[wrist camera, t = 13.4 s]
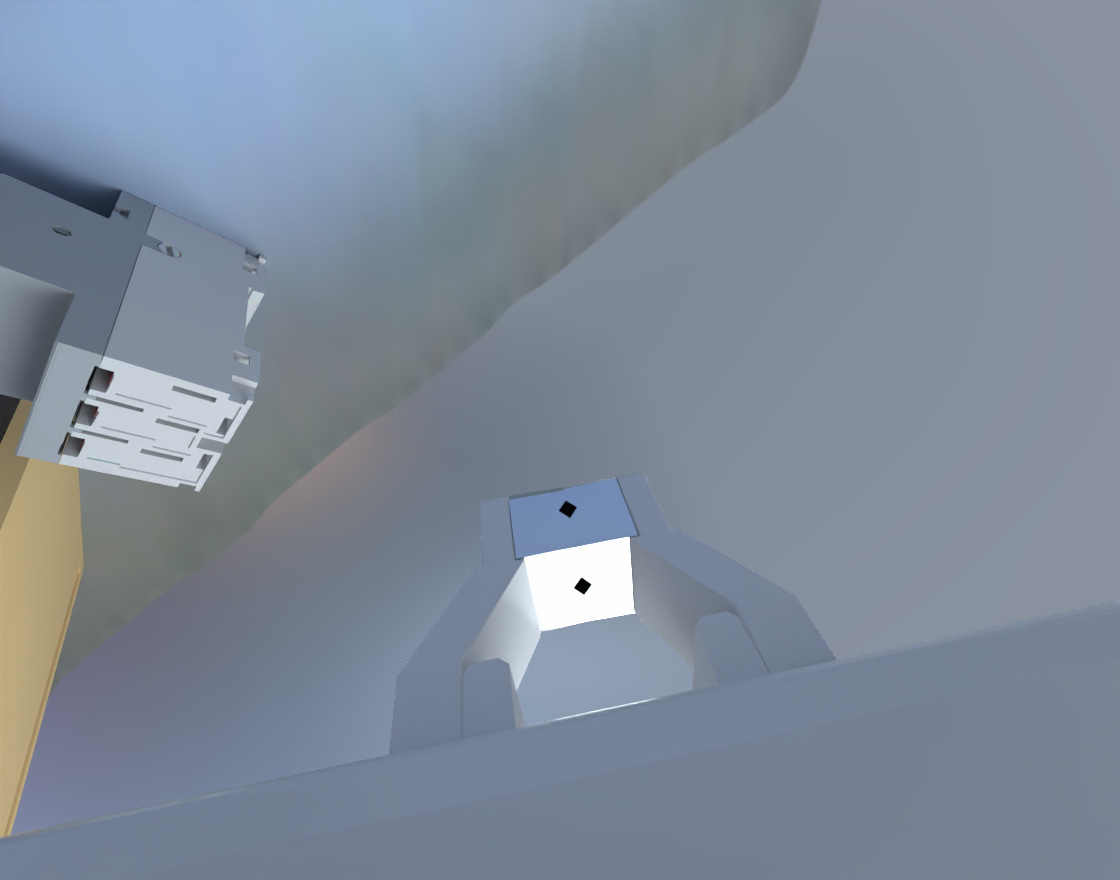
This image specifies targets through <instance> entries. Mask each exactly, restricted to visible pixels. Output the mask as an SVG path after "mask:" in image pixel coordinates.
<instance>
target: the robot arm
mask: <svg viewBox="0 0 1120 880" xmlns="http://www.w3.org/2000/svg"><path fill="white" fill-rule="evenodd" d="M479 511H480V531H481V550H482V567H479V568H474V569H473V571H472V572H471V574H470V575H469V576H468V578H467V579H466V580H465V582H464V583H463V585H462V586H461V587H460V589H459V590H458V592H457V593H456V594H455V596H454V597H453V599H452V600H451V601H450V603H449V604H448V606H447V607H446V608H445V610H444V611H443V613H442V614H441V615H440V617H439V618H438V620H437V621H436V622H435V624H434V625H433V627H432V628H431V629H430V631H429V632H428V634H427V635H426V636H425V638H424V639H423V641H422V642H421V643H420V645H419V646H418V648H417V649H416V650H415V652H414V653H413V655H412V656H411V657H410V659H409V660H408V662H407V663H406V664H405V666H404V667H403V668H402V670H401V671H400V673H399V674H398V675H397V680H396V690H395V700H394V710H393V720H392V730H391V739H390V749H389V755H385V756H381V757H376V758H371V759H366V760H361V761H357V762H352V763H347V764H343V765H338V766H333V767H329V768H324V769H319V770H314V771H310V772H305V773H300V774H296V775H291V776H286V777H282V778H277V779H273V780H267V781H263V782H258V783H253V784H249V785H244V786H240V787H234V788H230V789H225V790H220V791H216V792H211V793H207V794H202V795H197V796H192V797H188V798H183V799H178V800H173V801H169V802H164V803H159V804H154V805H150V806H145V807H140V808H136V809H131V810H126V811H122V812H117V813H112V814H108V815H103V816H98V817H93V818H89V819H84V820H79V821H75V822H70V823H65V824H60V825H56V826H51V827H46V828H42V829H37V830H32V831H28V832H23V833H18V834H14V835H9V836H4V837H0V880H1120V600H1115V601H1110V602H1105V603H1101V604H1097V605H1092V606H1087V607H1082V608H1077V609H1072V610H1068V611H1063V612H1058V613H1054V614H1049V615H1044V616H1040V617H1035V618H1030V619H1026V620H1021V621H1016V622H1011V623H1007V624H1002V625H997V626H992V627H988V628H983V629H978V630H973V631H969V632H964V633H959V634H955V635H950V636H945V637H940V638H936V639H931V640H927V641H921V642H917V643H912V644H907V645H903V646H898V647H893V648H888V649H884V650H879V651H874V652H870V653H865V654H860V655H855V656H851V657H846V658H842V659H836V658H835V656H834V655H833V653H832V652H831V650H830V649H829V647H828V645H827V644H826V642H825V641H824V639H823V638H822V636H821V634H820V633H819V631H818V630H817V628H816V627H815V625H814V623H813V622H812V620H811V618H810V617H809V616H808V614H807V612H806V611H805V609H804V607H803V606H802V604H801V603H800V601H799V600H798V598H797V596H796V595H794V594H792V593H790V592H789V591H787V590H785V589H783V588H782V587H780V586H778V585H776V584H775V583H773V582H771V581H770V580H768V579H766V578H764V577H762V576H761V575H759V574H757V573H755V572H754V571H752V570H750V569H748V568H747V567H745V566H743V565H742V564H740V563H738V562H736V561H735V560H733V559H731V558H729V557H728V556H726V555H724V554H722V553H721V552H719V551H717V550H715V549H714V548H712V547H710V546H709V545H707V544H705V543H703V542H702V541H700V540H698V539H696V538H694V537H693V536H691V535H689V534H688V533H686V532H684V531H682V530H681V529H674V530H671V529H670V527H669V525H668V523H667V521H666V518H665V516H664V514H663V512H662V510H661V508H660V505H659V503H658V501H657V499H656V497H655V495H654V493H653V490H652V488H651V486H650V484H649V482H648V480H647V478H646V475H645V474H644V473H643V472H642V471H639V472H635V473H630V474H625V475H620V476H616V477H615V478H609V479H604V480H599V481H593V482H589V483H583V484H578V485H573V486H567V487H562V488H555V489H549V490H543V491H538V492H531V493H525V494H519V495H513V496H509V498H508V497H503V498H497V499H491V500H485V501H481V502H480V506H479ZM631 613H635V615H636V616H637V617H638V618H639V619H640V620H641V621H642V622H643V623H644V624H645V625H647V626H648V627H649V628H650V629H651V630H652V631H653V632H654V633H655V634H657V635H658V636H659V637H660V638H661V639H662V640H663V641H664V642H665V643H666V644H668V645H669V646H670V647H671V648H672V649H673V650H674V651H675V652H677V654H679V655H680V656H681V657H682V658H683V659H684V660H685V661H686V662H687V663H689V664H690V665H691V666H692V667H693V668H694V673H693V690H692V691H687V692H682V693H677V694H673V695H668V696H663V697H659V698H654V699H649V700H645V701H640V702H635V703H631V704H626V705H621V706H616V707H612V708H607V709H602V710H597V711H593V712H588V713H583V714H578V715H573V716H569V717H564V718H559V719H555V720H550V721H545V722H540V723H536V724H531V725H526V724H525V721H524V717H523V713H522V710H521V706H520V702H519V699H518V695H517V689H518V686H519V684H520V682H521V679H522V677H523V675H524V672H525V670H526V668H527V666H528V664H529V661H530V659H531V656H532V654H533V652H534V650H535V647H536V645H537V643H538V640H539V638H540V636H541V633H540V632H543V631H547V630H551V629H556V628H560V627H564V626H568V625H573V624H577V623H581V622H586V621H591V620H597V619H603V618H608V617H614V616H620V615H625V614H631Z"/></svg>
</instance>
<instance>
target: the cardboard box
mask: <svg viewBox="0 0 1120 880" xmlns="http://www.w3.org/2000/svg"><path fill="white" fill-rule="evenodd" d="M32 403H33V402H31V401H27V400H23V399H21V400H20V402H19V405H18V407H17V409H16V411H15V413H14V415H13V418H12V420H11V422H10V424H9V426H8V428H7V431H6V433H5V435H4V437H3V439H2V441H1V444H0V837H4V836H9V835H10V834H11V831H12V827H13V824H14V820H15V816H16V813H17V809H18V805H19V802H20V798H21V794H22V791H23V787H24V784H25V780H26V776H27V773H28V769H29V765H30V762H31V758H32V754H33V751H34V747H35V744H36V740H37V736H38V733H39V729H40V725H41V722H42V718H43V714H44V711H45V707H46V704H47V700H48V696H49V693H50V689H51V685H52V682H53V678H54V674H55V671H56V667H57V664H58V660H59V656H60V653H61V649H62V645H63V642H64V638H65V634H66V631H67V627H68V624H69V620H70V616H71V613H72V609H73V605H74V602H75V598H76V594H77V591H78V587H79V584H80V580H81V576H82V573H83V569H84V565H83V547H82V528H81V510H80V492H79V474H78V467H73V466H68V465H63V464H59V462H60V460H59V462H58V463H53V462H48V461H43V460H38V459H33V458H28V457H23V456H18V455H16V454H15V450H16V448H17V445H18V442H19V439H20V437H21V434H22V431H23V428H24V425H25V423H26V420H27V417H28V414H29V412H30V409H31V406H32ZM74 420H75V418H74ZM73 422H74V421H73ZM69 434H70V433H69ZM68 436H69V435H68ZM67 439H68V438H67ZM66 442H67V441H66ZM65 445H66V443H65ZM64 448H65V446H64ZM63 450H64V449H63ZM62 453H63V452H62ZM61 456H62V455H61ZM60 459H61V457H60Z"/></svg>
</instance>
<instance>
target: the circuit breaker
mask: <svg viewBox="0 0 1120 880" xmlns="http://www.w3.org/2000/svg"><path fill="white" fill-rule="evenodd" d="M154 206H155V205H153V204H151V203H149V202H147V201H144V200H142V199H140V198H138V197H136V196H134V195H131V194H129V193H127V192H125V191H122V192H121V194H120V196H119V198H118V201H117V203H116V205H115V208H114V210H113V212H112V214H111V216H110V218H106V217H103V216H101V215H99V214H96V213H94V212H92V211H89V210H87V209H85V208H83V207H80V206H78V205H76V204H73V203H71V202H69V201H66V200H64V199H62V198H59V197H57V196H55V195H52V194H50V193H48V192H45V191H43V190H41V189H38V188H36V187H34V186H31V185H29V184H27V183H24V182H22V181H20V180H17V179H15V178H13V177H10V176H8V175H6V174H2V173H0V394H2V395H6V396H10V397H15V398H19V399H23V400H27V401H31V402H33V403H32V406H31V409H30V412H29V414H28V417H27V420H26V423H25V425H24V428H23V431H22V434H21V437H20V439H19V442H18V445H17V448H16V450H15V454H16V455H18V456H23V457H28V458H33V459H38V460H43V461H48V462H53V463H58V462H59V460H60V462H59V464H63V465H68V466H73V467H78V468H83V469H88V470H93V471H98V472H103V473H108V474H113V475H118V476H124V477H129V478H134V479H139V480H144V481H149V482H154V483H159V484H164V485H169V486H174V487H178V486H179V484H180V483H183V484H188V485H193V486H195V489H194V490H195V491H200V489H201V487H202V486H203V484H204V482H205V481H206V479H207V477H208V476H209V474H210V472H211V471H212V469H213V467H214V466H215V464H216V462H217V461H218V459H219V457H220V456H221V454H222V451H223V448H224V445H225V443H227V444H228V442H229V441H230V439H231V437H232V436H233V434H234V432H235V431H236V429H237V427H238V426H239V424H240V422H241V421H242V419H243V417H244V416H245V414H246V412H247V411H248V409H249V407H250V406H251V404H252V402H253V400H254V397H253V395H254V391H255V388H256V386H257V385H258V383H259V379H260V368H261V353H259V352H257V351H254V350H251V349H248V348H246V347H244V340H245V328H246V327H247V325H248V323H249V321H250V319H251V317H252V316H253V314H254V312H255V310H256V308H257V307H258V305H259V303H260V301H261V299H262V297H263V296H264V294H265V277H266V269H265V268H264V264H265V262H266V258H267V257H265V256H263V255H261V254H260V255H259V257H258V259H257V258H255V257H253V256H251V255H249V254H246V253H245V250H246V247H243V246H241V245H239V244H237V243H235V242H233V241H231V240H228V239H226V238H224V237H222V236H220V235H218V234H215V233H213V232H211V231H209V230H207V229H205V228H203V227H200V226H198V225H196V224H194V223H192V222H190V221H188V220H185V219H183V218H181V217H179V216H177V215H175V214H172V213H170V212H168V211H166V210H164V209H162V208H160V207H157V206H155V208H154ZM153 209H154V211H153ZM152 212H153V213H152ZM151 215H152V216H151ZM248 270H249V271H248ZM87 382H88V383H87ZM86 385H87V386H86ZM85 388H86V389H85ZM80 401H81V403H80ZM79 404H80V406H79ZM78 407H79V408H78ZM77 410H78V411H77ZM76 413H77V414H76ZM75 415H76V417H75ZM74 418H75V420H74ZM73 421H74V422H73ZM69 433H70V434H69ZM68 435H69V436H68ZM67 438H68V439H67ZM66 441H67V442H66ZM65 443H66V445H65ZM64 446H65V448H64ZM63 449H64V450H63ZM62 452H63V453H62ZM61 455H62V456H61ZM60 457H61V459H60Z"/></svg>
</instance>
